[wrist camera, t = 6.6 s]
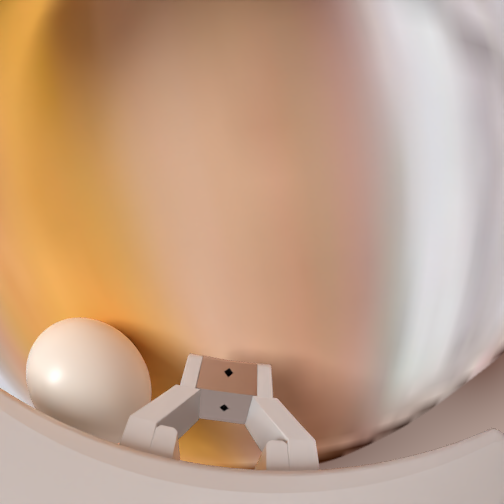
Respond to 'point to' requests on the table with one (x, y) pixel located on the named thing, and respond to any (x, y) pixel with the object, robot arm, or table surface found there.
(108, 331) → the white ball
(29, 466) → the robot arm
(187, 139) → the table surface
